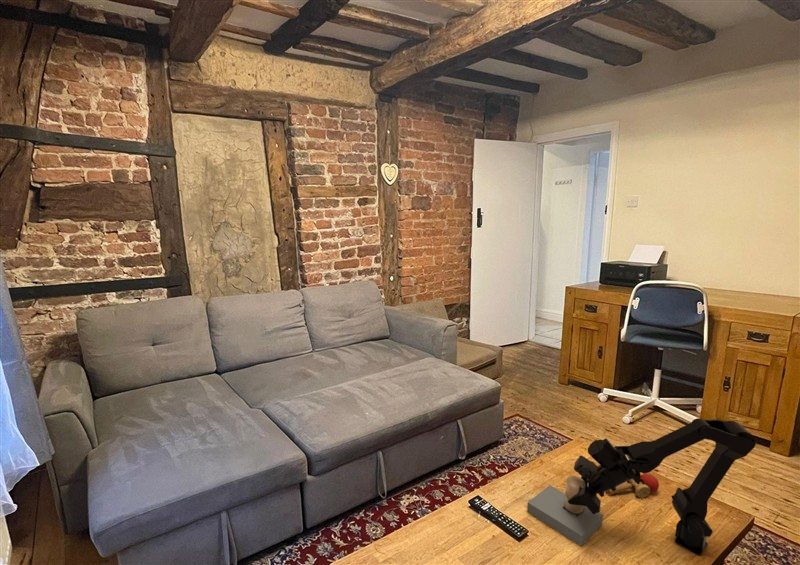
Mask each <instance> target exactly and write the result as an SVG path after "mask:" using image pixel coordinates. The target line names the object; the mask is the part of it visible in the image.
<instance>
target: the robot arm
mask: <svg viewBox="0 0 800 565" xmlns="http://www.w3.org/2000/svg"><path fill="white" fill-rule="evenodd" d="M704 440H708V441H712V442H715V445H714V448H713V450H712V452H711V453H710V455H709V457H708V458H707V460H706V461H705V463H704V464H703V466H702V467H701V469H700V471H699V472H698V474H697V475H696V477H695V478H694V480H692V483H691V484H690V486H689V487H687V488H684V489H683V488H681V487H677V488H676V491H675V493H674V494H672V495H671V499H672V501H671V504H672V507H673V509H674V511H675V512H676V514H677V515H678V517H679V519H680V520H678V522H677V523H676V526H675V534H674V536H675V539H674V543H675V544H677V545H679V546H681V547H682V548H685V549H687V550H689V551H691V552H692V553H694V554H696V555H698V556H702V554H703V552H705V549H706V547H707V546H708V542H707V538H710V537H711V535H713V532H714V531H713V529H712V528H711V526H710V524H709V523H708V522H707V519H706V518H707V515H708V504H709V500H710V499H711V497H712V496H713V494H714V493H715V491H716V490H717V488H718V487H719V485H720V483H721V481H722V480H723V479H724V477H725V476H726V474H727V473H728V472H729V470H730V468H731V467H732V466H733V464H734V462H735V461H737V460H741V459H743V458H745V457H746V456H748V455H749V454H750V453H751V452H752V450H754V449H755V447H756V444H757V441H756V438H755V436H753V434H752V433H750V432H749V431H748V430H747V429H746V428H745V427H744V426H743V425H742V424H741V423H739V422H737V421H735V420H728V421H727V420H726V421H725V420H721V419H716V418H715V419H704V418H695V419H694V418H693V420H692V421H691V422H690V423H687V424H686V425H683V426H682V427H680V428H677V429H675V430H673V431H672V432H669V433H667V434H664V435H663V436H661V437H659V438H656V439H655V440H651V441H643V440H642V441H638V442H636V443H633V444H631V445H619V446H618V445H615V446H614V445H613V444H612V443H611V442H610V440H609V439H608V438H607V437H605V438H604V439H597V440H593V441H592V442H591V443H590V444H589V446H588V448H587V453H588V454H589V455H590V456H591V457H592V459H594V461H596V462H597V464H596V462H594V461H591V460H589V459H588V458H586V457H585V456H583V455H579V457H577V459H576V461H575V462H574V465H573V470H574V471H575V472H576V473H578V475H580V476H581V477H580V478H581V479H583V480H584V481H585V487H584V488H581V487H579V493H577V494H576V495H574V496H573V497H572V498H570V499H569V500H568V503H569V504H572V505H581V506H587V508H588V509H589V510H590V511H591V512H592V514H597V513H601V512H600V511H601V502H602V501H601V500H600V498H599V497H601V498H603V497H605V493H607V492H606V491H608V490H610V489H611V490H612V491H615V490H616V486H618V485H621V484H625V483H627V481H629V480H631V479H633V480H634V481H635V482H636V483H637V484H640V477H641V475H642V474H646V473H647V474H650V473H651V472H653V471H654V470H655V469H657V468H658V467H660V465H661V463H662V462H663V461H664V459H666V458H668V457H670V456H672V455H674V454H676V453H678V452H681V451H682V450H684V449H687V448H689V447H691V446H693V445H695V444H697V443H700V442H701V441H704ZM598 464H599V465H598ZM597 495H599V497H598V496H597Z"/></svg>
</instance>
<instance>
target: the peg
mask: <svg viewBox="0 0 800 565" xmlns="http://www.w3.org/2000/svg"><path fill="white" fill-rule="evenodd" d="M565 480H566V481H565V492H564V493H565V504H564V508H565V509H566V511H568V512H569V513H571V514H573V515H575V516H578V515H580V514H582V513H583V506H581V505H572V504H569V503H568V500H569V499H570V498H572V497H573V496H574V495H576V494H577V493H579V487H581V488H584V487H585V481H584V480H583V479H581V477H579V476H577V475H569V476H567V477H566V479H565Z"/></svg>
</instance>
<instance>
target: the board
mask: <svg viewBox="0 0 800 565" xmlns="http://www.w3.org/2000/svg"><path fill="white" fill-rule="evenodd" d="M564 504H565V492H563V491H561V490H559V489H557V488H556V487H555V486H552V485H550V484H549V485H548V486H547V487H545V488H544V489H543V490H541V491H540V492H539V493H537V494H536V495H535V496H534V497H532V498H531V499H529V501H527V508H526V509H527V510H526V512H527V513H528V514H530V515H531V516H533V517H534V518H536V519H537V520H539V521H541V522H543V523H544V524H545V525H546V526H548V527H550V528H552V529H553V530H554V531H556V532H557V533H559V534H561V535H562V536H564V537H566V538H567V539H569V540H570V541H572V542H573V543H575V544H577V545H579V546H580V547H582V546H583V545H584V544H585V543H586V542H587V541H588V540H589V539H590V538H591V536H593V535H594V534H595V533H596V532H597V531H598V529H599V528H600V527H601V526H602V525H603V519H604V518H603V517H604V514H603V513H601V512H599V513H597V514H592V512H591V511H590V510H589V509H588V508H587V506H583V513H582V514H580V515H578V516H575V515H573V514H571V513H569V512H568V511H566V509H565V508H564Z"/></svg>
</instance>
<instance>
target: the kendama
mask: <svg viewBox="0 0 800 565" xmlns="http://www.w3.org/2000/svg"><path fill="white" fill-rule="evenodd" d="M659 486H660V483H659V480H658V479H657V477H656V476H655V475H653V474H651V473H645V474H643V473H641V477H640V484H637V483H636V482H635V481H634V480H633V479H631V480H629V481H627V482H625V483H623V484H621V485H618V486H616V490H615V491H612V490H611V489H610V490H608V491H606V492H605V493H606V494H607V495H608V496H612V495H615V494H618V493H622V492H625V491H628V490H631V489H633V488H634V495H636V496H637V497H638V498H640V497H643V498H645V497H647V496H649V495H650V493H651V494H652V493H655V492H657V491H658V490H659Z"/></svg>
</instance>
